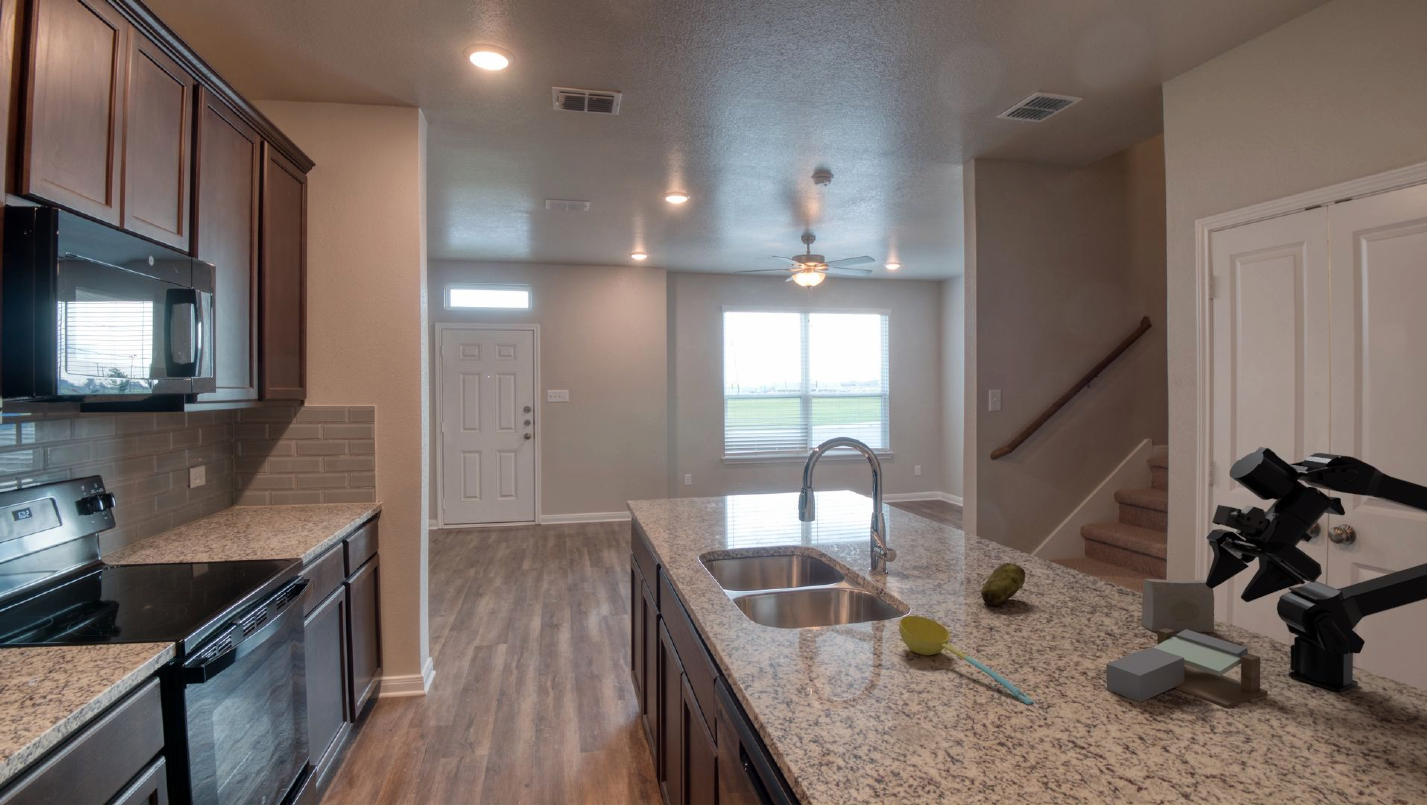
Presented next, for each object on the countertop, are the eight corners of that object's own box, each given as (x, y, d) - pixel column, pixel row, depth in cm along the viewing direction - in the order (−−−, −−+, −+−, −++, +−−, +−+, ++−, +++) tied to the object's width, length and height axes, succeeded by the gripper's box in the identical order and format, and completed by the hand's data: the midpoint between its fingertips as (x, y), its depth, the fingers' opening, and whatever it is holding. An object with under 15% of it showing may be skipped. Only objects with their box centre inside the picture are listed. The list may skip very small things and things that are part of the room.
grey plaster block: (1201, 626, 130) (1202, 578, 130) (1215, 632, 127) (1215, 583, 126) (1140, 625, 130) (1140, 577, 130) (1151, 632, 127) (1152, 583, 127)
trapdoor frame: (1267, 693, 101) (1267, 657, 101) (1226, 707, 96) (1227, 670, 96) (1164, 657, 114) (1165, 626, 114) (1124, 668, 110) (1125, 636, 110)
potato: (965, 599, 147) (965, 563, 147) (1008, 593, 152) (1008, 558, 152) (993, 610, 139) (993, 573, 139) (1038, 603, 144) (1039, 567, 144)
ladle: (921, 634, 123) (927, 606, 122) (1042, 729, 100) (1051, 696, 99) (884, 640, 120) (890, 611, 118) (1001, 740, 96) (1010, 705, 95)
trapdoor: (1251, 659, 103) (1251, 648, 103) (1220, 679, 100) (1219, 668, 100) (1183, 638, 112) (1182, 628, 112) (1152, 655, 109) (1151, 645, 109)
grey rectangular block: (1150, 646, 108) (1106, 663, 102) (1184, 657, 103) (1139, 675, 98) (1150, 670, 108) (1106, 689, 102) (1184, 682, 103) (1140, 702, 98)
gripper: (1210, 482, 116) (1152, 550, 117) (1285, 491, 97) (1216, 572, 98) (1266, 523, 114) (1207, 592, 115) (1354, 540, 96) (1283, 622, 97)
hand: (1225, 593), depth 106 cm, fingers open, 9 cm apart
